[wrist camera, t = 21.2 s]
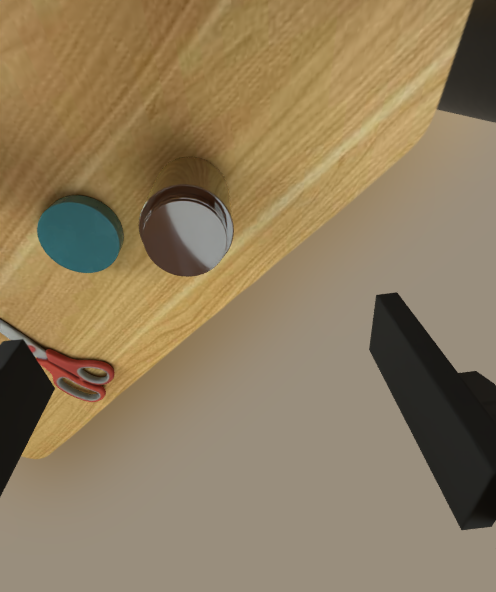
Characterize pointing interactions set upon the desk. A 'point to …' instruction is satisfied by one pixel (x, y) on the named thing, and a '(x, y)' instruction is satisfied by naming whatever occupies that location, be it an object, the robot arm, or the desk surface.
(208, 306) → the desk surface
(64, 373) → the scissors
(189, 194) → the jar
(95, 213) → the lid
